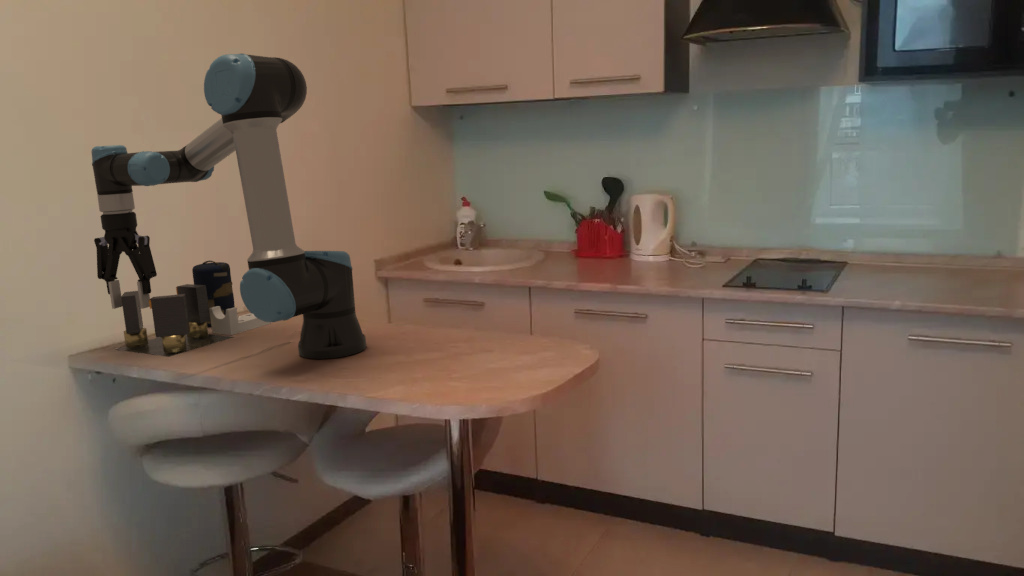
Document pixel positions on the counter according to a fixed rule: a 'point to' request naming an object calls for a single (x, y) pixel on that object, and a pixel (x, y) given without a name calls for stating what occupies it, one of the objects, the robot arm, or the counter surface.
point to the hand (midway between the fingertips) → (131, 307)
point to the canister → (215, 284)
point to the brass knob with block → (133, 321)
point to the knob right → (196, 309)
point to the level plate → (191, 343)
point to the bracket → (233, 321)
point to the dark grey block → (170, 321)
